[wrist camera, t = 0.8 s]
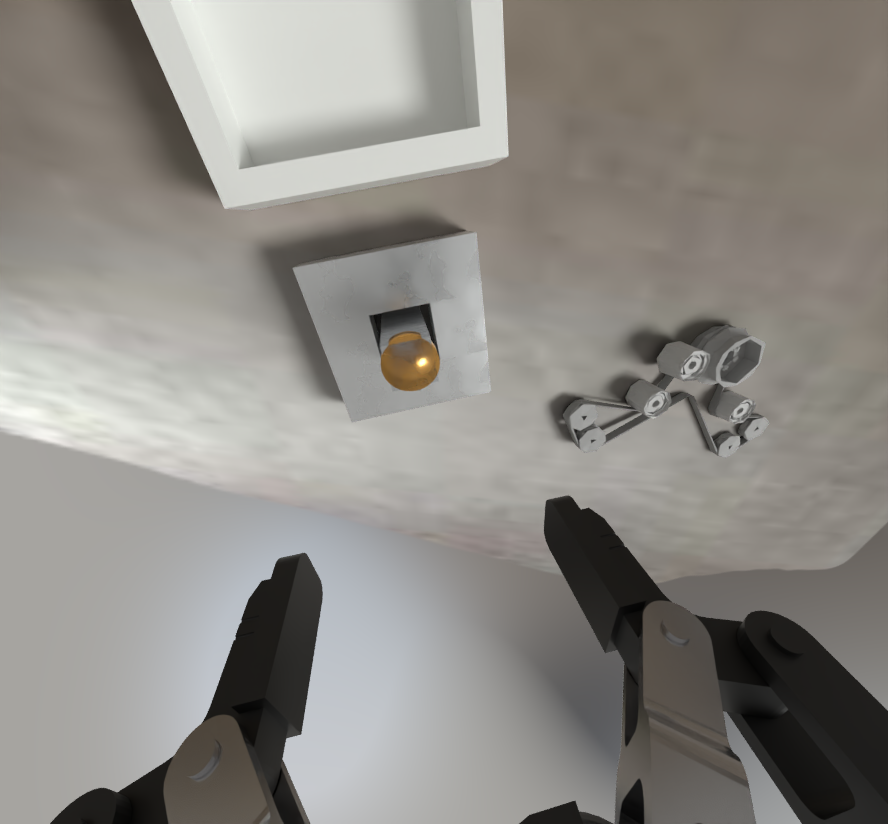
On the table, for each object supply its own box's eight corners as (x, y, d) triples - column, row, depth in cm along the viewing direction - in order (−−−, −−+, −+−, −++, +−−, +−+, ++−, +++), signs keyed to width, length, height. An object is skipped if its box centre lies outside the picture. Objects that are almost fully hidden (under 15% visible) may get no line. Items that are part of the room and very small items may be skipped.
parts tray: (106, -141, 14) (15, -258, 10) (465, -189, 14) (490, -313, 11) (251, 210, 21) (224, 208, 17) (489, 165, 21) (508, 156, 18)
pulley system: (598, 300, 29) (546, 441, 35) (635, 310, 25) (569, 467, 31) (803, 337, 36) (728, 449, 42) (859, 349, 32) (766, 471, 38)
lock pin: (377, 309, 25) (373, 343, 18) (421, 300, 25) (434, 330, 19) (388, 352, 27) (388, 396, 20) (429, 343, 27) (444, 384, 20)
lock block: (303, 262, 23) (292, 267, 20) (466, 230, 23) (476, 232, 21) (354, 404, 29) (351, 422, 27) (482, 376, 30) (491, 391, 27)
